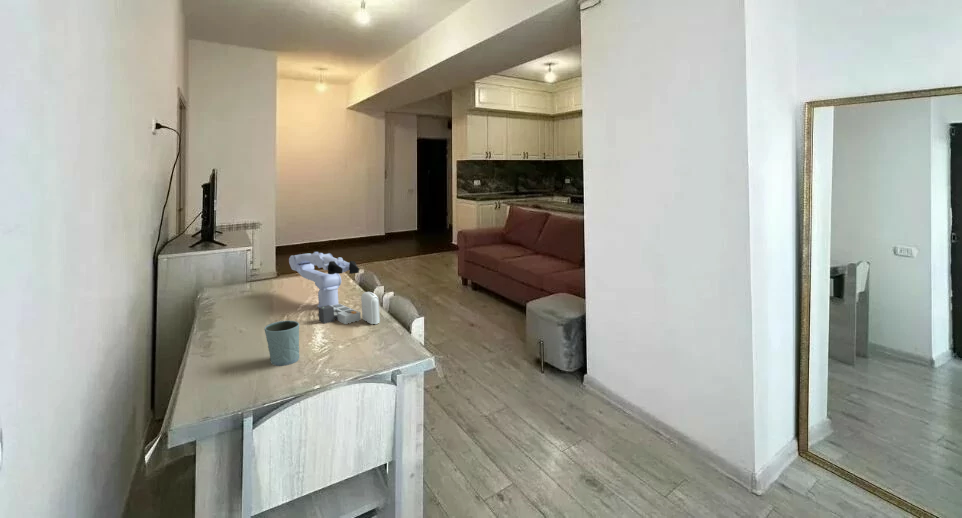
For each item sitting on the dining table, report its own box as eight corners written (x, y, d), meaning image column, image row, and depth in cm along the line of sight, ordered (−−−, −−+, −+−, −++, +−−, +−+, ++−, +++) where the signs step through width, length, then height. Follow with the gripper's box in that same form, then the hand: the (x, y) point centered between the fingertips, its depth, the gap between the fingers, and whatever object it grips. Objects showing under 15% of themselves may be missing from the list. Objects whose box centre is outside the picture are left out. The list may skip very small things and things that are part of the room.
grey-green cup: (306, 354, 148) (303, 320, 146) (294, 367, 138) (291, 330, 136) (275, 354, 148) (272, 320, 145) (262, 367, 138) (258, 331, 135)
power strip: (324, 314, 190) (324, 305, 190) (339, 311, 195) (339, 302, 195) (345, 324, 178) (344, 314, 177) (360, 320, 183) (360, 311, 182)
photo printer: (360, 319, 184) (359, 290, 182) (370, 317, 187) (369, 289, 185) (371, 325, 176) (370, 296, 174) (381, 323, 179) (380, 294, 177)
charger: (319, 321, 182) (318, 306, 181) (335, 317, 187) (334, 303, 186) (324, 323, 179) (323, 309, 178) (340, 319, 184) (339, 305, 183)
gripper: (319, 255, 187) (334, 261, 178) (349, 255, 197) (366, 261, 188) (317, 271, 188) (333, 278, 178) (348, 270, 198) (364, 277, 189)
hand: (350, 270), depth 183 cm, fingers open, 7 cm apart
